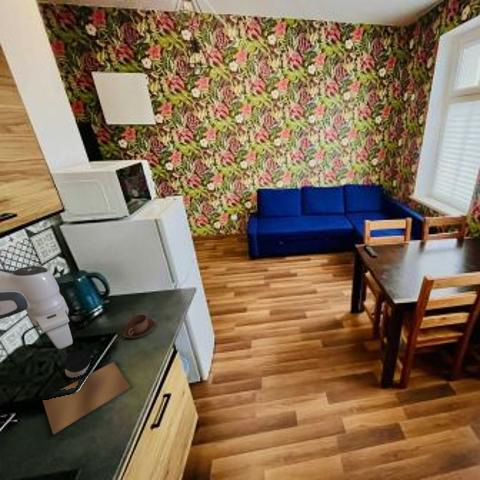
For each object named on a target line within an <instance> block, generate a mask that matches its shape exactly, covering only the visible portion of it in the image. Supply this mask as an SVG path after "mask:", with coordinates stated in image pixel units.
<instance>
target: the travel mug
mask: <svg viewBox="0 0 480 480" xmlns="http://www.w3.org/2000/svg"><path fill="white" fill-rule="evenodd" d="M91 361H92V356H91V354H90V353H89V352H88V351H86V350H77V351H74V352H73V353H70V354H69V355H68V356H67V358H66V359H65V362H64V363H63V364H62V366H63V369H64V373H65V375H66V376H67V377H68V378H71V379H76V378H79V377H81V376H83V375H84V374H86V372H87V371H88V369H89V367H90V364H91ZM86 370H87V371H86ZM80 375H81V376H80ZM78 376H79V377H78ZM74 377H75V378H74Z"/></svg>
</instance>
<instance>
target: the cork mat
mask: <svg viewBox="0 0 480 480" xmlns="http://www.w3.org/2000/svg"><path fill="white" fill-rule="evenodd" d="M89 374H90V375H89ZM89 374H88V375H89V376H88V378H87V379H86V381H85V382H84V384H83V385H82V387H81V389H80V390H79V391H78V392H76V393H74V394H70V395H65V396H61V397H56V398H52V399H49V400H42V404H43V406H44V409H45V414H46V416H47V421H48V423H49V426H50V429H51V432H52V435H56V434H57V433H59V432H60V431H63V429H66V428H67V427H69V426H70V425H72V424H73V423H76V422H77V421H79V420H80V419H82V418H83V417H85V416H87V415H88V414H90V413H91V412H94V411H95V410H97V409H98V408H100V407H102V406H103V405H105V404H106V403H108V402H110V401H112V400H113V399H114V398H116V397H118V396H119V395H121V394H122V393H124V392H126V391H127V390H130V389H131V386H130V384H129V383H128V381H127V380H126V378H125V377H124V375H123V373H122V372H121V370H120V369H119V367H118V365H117V364H116V362H114V361H112V362H110V363H108V364H107V365H104V366H102V367H101V368H98V369H97V370H95V371H93V372H91V373H89ZM78 382H79V381H78V380H76V381H74V382H72V383H70V384H68V385H67V386H65V387H63V388H61V389H60V390H63V389H66V390H68V389H71V388H76V386H77V385H78Z"/></svg>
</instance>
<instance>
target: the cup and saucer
mask: <svg viewBox="0 0 480 480" xmlns="http://www.w3.org/2000/svg"><path fill="white" fill-rule="evenodd" d="M154 327H155V320H153V319H151V318H147V316H146V315H145V314H137V315H134V316H132V317H130V318H128V319H127V321H126V326H125V327H124V328H123V330H122V336H123V337H124V338H126V339H137V338H141V337H143V336H146V335H147V334H148V333H150V332H151V331H152V330H154Z"/></svg>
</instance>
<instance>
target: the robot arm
mask: <svg viewBox="0 0 480 480" xmlns="http://www.w3.org/2000/svg"><path fill="white" fill-rule="evenodd" d="M24 311H26V313H27V315H28V317H29V319H30V321H31V322H32V324H33V325H35V326H37V327H38V328H39V329H40V330H41V332H42V333H45V334H46V335H47V336H48V338H49V339H50V341H51V342H52V343H53V345H54V346H55V348H57V350H62V349H64V348H67V347H69V346H71V345H73V343H74V342H73V341H74V340H73V336H72V333H71V329H70V325H69V322H70V318H69V311H70V309H69V306H68V304H67V302H66V300H65V298H64V296H63V295H62V294H61V292H60V286H59V284H58V282H57V280H56V277H55V276H54V275H53V274H52V271H50V269H48V268H47V267H44V266H40V265H29V266H24V267H20V268H17V269H15V270H11V269H4V268H0V320H2V319H6V318H8V317H11V316H15V315H17V314H20V313H22V312H24Z"/></svg>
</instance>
